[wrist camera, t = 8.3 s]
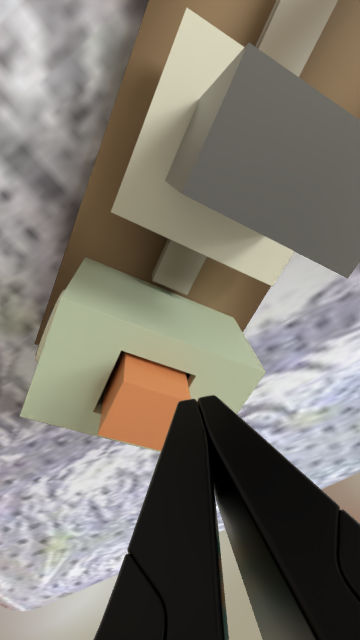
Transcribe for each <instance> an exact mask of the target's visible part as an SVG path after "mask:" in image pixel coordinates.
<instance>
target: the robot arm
mask: <svg viewBox="0 0 360 640" xmlns="http://www.w3.org/2000/svg"><path fill="white" fill-rule="evenodd" d="M214 493H215V494H214ZM215 497H216V501H217V504H218V507H219V511H220V514H221V517H222V520H223V523H224V526H225V529H226V532H227V535H228V537H229V540H230V544H231V546H232V550H233V553H234V556H235V558H236V561H237V564H238V567H239V570H240V573H241V576H242V579H243V582H244V585H245V588H246V591H247V594H248V597H249V600H250V603H251V606H252V609H253V612H254V615H255V618H256V621H257V623H258V627H259V630H260V633H261V636H262V639H263V640H360V524H359V523H358V522H357V521H356V520H355V519H354V518H353V517H351V516H350V515H349V514H348V513H347V512H346V511H345V510H343V509H342V510H340V507H339V505H338V504H337V503H336V502H334V501H333V500H332V499H331V498H330V497H329V496H328V495H327V494H325V493H324V492H323V491H322V490H321V489H320V488H319V487H318V486H317V485H315V484H314V483H313V482H312V481H311V480H310V479H309V478H308V477H306V476H305V475H304V474H303V473H302V472H301V471H300V470H299V469H297V468H296V467H295V466H294V465H293V464H292V463H291V462H290V461H289V460H287V459H286V458H285V457H284V456H283V455H282V454H281V453H280V452H278V451H277V450H276V449H275V448H274V447H273V446H272V445H271V444H270V443H268V442H267V441H266V440H265V439H264V438H263V437H262V436H261V435H259V434H258V433H257V432H256V431H255V430H254V429H253V428H252V427H250V426H249V425H248V424H247V423H246V422H245V421H244V420H243V419H242V418H240V417H239V416H238V415H237V414H236V413H235V412H234V411H233V410H231V409H230V408H229V407H228V406H227V405H226V404H225V403H224V402H222V401H221V400H220V399H219V398H218V397H217V396H215V395H210V396H205V397H200V398H198V401H197V400H196V399H188V400H183V401H179V402H178V404H177V407H176V410H175V413H174V415H173V418H172V421H171V424H170V427H169V430H168V433H167V436H166V439H165V442H164V445H163V447H162V450H161V453H160V456H159V459H158V462H157V465H156V468H155V471H154V474H153V477H152V479H151V482H150V485H149V488H148V491H147V494H146V497H145V500H144V503H143V506H142V509H141V511H140V514H139V517H138V520H137V523H136V526H135V529H134V532H133V535H132V538H131V541H130V543H129V546H128V554H126V555H125V557H124V560H123V563H122V566H121V569H120V572H119V575H118V578H117V581H116V583H115V586H114V589H113V591H112V594H111V597H110V599H109V602H108V605H107V608H106V610H105V613H104V615H103V618H102V621H101V623H100V626H99V628H98V631H97V633H96V635H95V638H94V640H229V635H228V626H227V614H226V604H225V594H224V583H223V574H222V563H221V553H220V542H219V531H218V521H217V511H216V502H215Z"/></svg>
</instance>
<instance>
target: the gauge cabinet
mask: <svg viewBox="0 0 360 640" xmlns="http://www.w3.org/2000/svg"><path fill="white" fill-rule="evenodd" d="M121 351H124V352H127V353H130V354H133V355H136V356H139V357H142V358H145V359H148V360H151V361H154V362H157V363H160V364H163V365H166V366H169V367H172V368H175V369H178V370H181V371H183V372H186V373H189V374H190V376H189V378H188V379H187V382H188V387H189V392H190V397H191V399H196V400H197V401H198V398H200V397H205V396H210V395H215V396H217V397H218V398H219V399H220V400H221V401H222V402H224V403H225V404H226V405H227V406H228V407H229V408H230V409H231V410H233V411H234V412H235V413H236V414H237V413H238V412H239V410H240V409H241V408H242V406H243V405H244V403H245V402H246V400H247V399H248V397H249V396H250V394H251V393H252V391H253V390H254V389H255V387H256V386H257V384H258V383H259V381H260V380H261V378H262V377H263V375H264V374H265V370H264V368H263V367H262V365H261V363H260V362H259V360H258V358H257V356H256V355H255V353H254V351H253V350H252V348H251V346H250V344H249V343H248V341H247V339H246V338H245V336H244V334H243V333H242V331H241V329H240V327H239V326H238V324H237V322H236V321H235V319H234V318H233V317H231V316H228V315H226V314H223V313H221V312H218V311H216V310H214V309H211V308H209V307H206V306H204V305H201V304H199V303H197V302H194V301H192V300H189V299H187V298H184V297H182V296H179V295H177V294H175V293H172V292H170V291H167V290H165V289H162V288H160V287H157V286H155V285H153V284H150V283H148V282H145V281H143V280H140V279H138V278H136V277H133V276H131V275H128V274H126V273H123V272H121V271H118V270H116V269H114V268H111V267H109V266H106V265H104V264H101V263H99V262H97V261H94V260H92V259H89V258H87V257H85V259H84V260H83V262H82V263H81V265H80V267H79V268H78V270H77V272H76V273H75V275H74V277H73V278H72V280H71V281H70V283H69V285H68V286H67V288H66V290H63V291H62V293H61V294H60V296H59V298H58V300H57V302H56V304H55V306H54V308H53V307H52V309H51V311H50V314H49V317H48V320H47V323H46V326H45V329H44V332H43V335H42V338H41V340H40V343H39V346H38V349H37V352H36V358H35V361H37V362H38V365H37V368H36V370H35V373H34V376H33V379H32V382H31V385H30V388H29V391H28V394H27V396H26V399H25V402H24V405H23V408H22V411H21V414H20V417H23V418H27V419H31V420H35V421H39V422H43V423H47V424H51V425H55V426H59V427H63V428H67V429H71V430H75V431H78V432H82V433H86V434H90V435H94V436H98V437H102V438H106V439H110V440H114V441H118V442H122V443H126V444H130V445H134V446H138V447H141V448H145V449H149V450H153V451H157V452H161V451H158V450H154V449H151V448H147V447H143V446H139V445H135V444H131V443H127V442H123V441H119V440H115V439H111V438H107V437H104V436H100V435H98V430H99V424H100V418H101V412H102V406H103V400H104V394H105V388H106V383H107V380H108V378H109V376H110V374H111V372H112V370H113V367H114V365H115V363H116V361H117V359H118V356H119V354H120V352H121Z"/></svg>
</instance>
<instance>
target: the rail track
mask: <svg viewBox="0 0 360 640" xmlns="http://www.w3.org/2000/svg"><path fill="white" fill-rule="evenodd" d="M186 8H188V9H190V10H191V11H193V12H194V13H196V14H197V15H199V16H200V17H201V18H203V19H204V20H206V21H207V22H209V23H210V24H212V25H213V26H214V27H216V28H217V29H219V30H220V31H222V32H223V33H225V34H226V35H227V36H229V37H230V38H232V39H233V40H235V41H236V42H238V43H239V44H240V45H242V46H243V47H245V46H246V45H247V44H248V43H251V44H252V45H254V46H255V47H256V48H258V49H259V50H261V51H262V52H264V53H265V54H266V55H268V56H269V57H271V58H272V59H274V60H275V61H276V62H278V63H279V64H281V65H282V66H284V67H285V68H286V69H288V70H289V71H291V72H292V73H293V74H295V75H296V76H298V77H299V78H301V79H302V80H303V81H305V82H306V83H308V84H309V85H311V86H312V87H313V88H315V89H316V90H318V91H319V92H321V93H322V94H323V95H325V96H326V97H328V98H329V99H331V100H332V101H333V102H335V103H336V104H338V105H339V106H341V107H342V108H343V109H345V110H346V111H348V112H349V113H351V114H352V115H353V116H355V117H356V118H358V119H359V120H360V0H149V1H148V4H147V7H146V10H145V13H144V16H143V19H142V22H141V25H140V28H139V31H138V34H137V37H136V40H135V43H134V46H133V49H132V52H131V55H130V59H129V62H128V65H127V68H126V71H125V74H124V77H123V80H122V83H121V86H120V89H119V92H118V95H117V98H116V101H115V104H114V107H113V110H112V113H111V116H110V119H109V122H108V125H107V128H106V131H105V134H104V137H103V140H102V143H101V146H100V149H99V152H98V155H97V158H96V161H95V164H94V167H93V170H92V173H91V176H90V179H89V182H88V185H87V188H86V191H85V194H84V197H83V200H82V203H81V206H80V209H79V212H78V215H77V218H76V221H75V224H74V227H73V230H72V233H71V236H70V239H69V242H68V245H67V248H66V251H65V254H64V257H63V260H62V263H61V266H60V269H59V272H58V275H57V278H56V281H55V284H54V287H53V290H52V293H51V296H50V299H49V302H48V305H47V308H46V311H45V314H44V317H43V320H42V323H41V326H40V329H39V332H38V335H37V338H36V341H35V344H36V345H39V343H40V340H41V338H42V335H43V332H44V329H45V326H46V323H47V320H48V317H49V314H50V311H51V309H52V307H53V308H54V306H55V304H56V302H57V300H58V298H59V296H60V294H61V293H62V291H63V290H66V288H67V286H68V285H69V283H70V281H71V280H72V278H73V277H74V275H75V273H76V272H77V270H78V268H79V267H80V265H81V263H82V262H83V260H84V259H85V257H87V258H89V259H92V260H94V261H97V262H99V263H101V264H104V265H106V266H109V267H111V268H114V269H116V270H118V271H121V272H123V273H126V274H128V275H131V276H133V277H136V278H138V279H140V280H143V281H145V282H148V283H150V284H153V285H155V286H157V287H160V288H162V289H165V290H167V291H170V292H172V293H175V294H177V295H179V296H182V297H184V298H187V299H189V300H192V301H194V302H197V303H199V304H201V305H204V306H206V307H209V308H211V309H214V310H216V311H218V312H221V313H223V314H226V315H228V316H231V317H233V318H234V319H235V321H236V322H237V324H238V326H239V327H240V329H241V331H242V332H243V331H244V329H245V328H246V326H247V324H248V323H249V321H250V319H251V318H252V316H253V315H254V313H255V311H256V310H257V308H258V306H259V305H260V303H261V302H262V300H263V298H264V297H265V295H266V293H267V292H268V290H269V289H270V287H271V285H268V284H266V283H264V282H262V281H260V280H257V279H255V278H253V277H251V276H249V275H247V274H244V273H242V272H240V271H238V270H236V269H234V268H231V267H229V266H227V265H225V264H223V263H221V262H218V261H216V260H214V259H212V258H210V257H207V256H205V255H203V254H201V253H199V252H197V251H194V250H192V249H190V248H188V247H186V246H184V245H181V244H179V243H177V242H175V241H173V240H171V239H168V238H166V237H164V236H162V235H160V234H157V233H155V232H153V231H151V230H149V229H147V228H144V227H142V226H140V225H138V224H136V223H134V222H131V221H129V220H127V219H125V218H123V217H121V216H118V215H116V214H114V213H112V212H111V210H112V207H113V205H114V202H115V199H116V197H117V194H118V191H119V189H120V186H121V183H122V180H123V178H124V175H125V172H126V170H127V167H128V164H129V162H130V159H131V156H132V153H133V151H134V148H135V145H136V143H137V140H138V137H139V135H140V132H141V129H142V126H143V124H144V121H145V118H146V116H147V113H148V110H149V108H150V105H151V102H152V100H153V97H154V94H155V91H156V89H157V86H158V83H159V81H160V78H161V75H162V73H163V70H164V67H165V64H166V62H167V59H168V56H169V54H170V51H171V48H172V46H173V43H174V40H175V38H176V35H177V32H178V29H179V27H180V24H181V21H182V19H183V16H184V13H185V11H186ZM189 376H190V374H189V373H186V377H187V379H188V378H189Z"/></svg>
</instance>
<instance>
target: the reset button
mask: <svg viewBox="0 0 360 640" xmlns="http://www.w3.org/2000/svg"><path fill="white" fill-rule="evenodd" d="M188 399H191V397H190V392H189V387H188V382H187V377H186V372H183V371H181V370H178V369H175V368H172V367H169V366H166V365H163V364H160V363H157V362H154V361H151V360H148V359H145V358H142V357H139V356H136V355H133V354H130V353H127V352H124V351H121V352H120V354H119V356H118V359H117V361H116V363H115V365H114V367H113V370H112V372H111V374H110V376H109V378H108V380H107V383H106V388H105V394H104V400H103V406H102V412H101V418H100V424H99V430H98V435H100V436H104V437H107V438H111V439H115V440H119V441H123V442H127V443H131V444H135V445H139V446H143V447H147V448H151V449H154V450H158V451H161V450H162V447H163V445H164V442H165V439H166V436H167V433H168V430H169V427H170V424H171V421H172V418H173V415H174V413H175V410H176V407H177V404H178V402H179V401H183V400H188Z"/></svg>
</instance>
